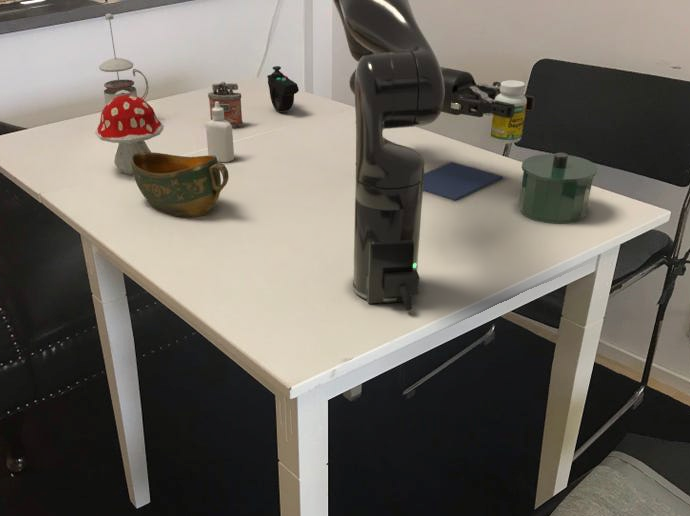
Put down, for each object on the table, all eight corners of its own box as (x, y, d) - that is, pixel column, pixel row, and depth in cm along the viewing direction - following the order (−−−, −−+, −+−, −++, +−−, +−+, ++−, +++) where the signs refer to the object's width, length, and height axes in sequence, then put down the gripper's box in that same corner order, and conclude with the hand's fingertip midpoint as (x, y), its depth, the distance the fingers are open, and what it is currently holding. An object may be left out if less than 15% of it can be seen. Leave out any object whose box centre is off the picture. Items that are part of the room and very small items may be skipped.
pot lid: (608, 183, 126) (612, 165, 124) (534, 187, 126) (537, 169, 124) (580, 158, 136) (583, 141, 134) (511, 162, 136) (514, 144, 134)
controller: (282, 104, 196) (280, 63, 190) (301, 117, 186) (300, 74, 180) (266, 106, 194) (264, 65, 189) (285, 119, 185) (283, 76, 179)
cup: (169, 234, 133) (162, 178, 127) (131, 197, 148) (123, 145, 142) (236, 218, 138) (232, 163, 132) (193, 183, 152) (188, 132, 147)
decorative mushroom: (123, 186, 153) (111, 110, 144) (89, 169, 162) (77, 96, 153) (181, 168, 160) (173, 95, 151) (146, 153, 169) (136, 82, 160)
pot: (595, 221, 130) (604, 179, 126) (530, 225, 130) (536, 182, 126) (571, 196, 139) (579, 156, 135) (510, 199, 139) (516, 159, 135)
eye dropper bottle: (224, 153, 166) (220, 97, 160) (236, 161, 162) (232, 103, 155) (206, 157, 165) (201, 100, 158) (217, 165, 161) (213, 107, 154)
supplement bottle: (504, 132, 138) (512, 77, 133) (527, 139, 135) (536, 83, 129) (483, 138, 136) (490, 82, 130) (506, 146, 132) (514, 89, 127)
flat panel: (502, 178, 148) (502, 176, 148) (455, 200, 140) (455, 198, 140) (451, 163, 156) (451, 161, 155) (404, 184, 148) (404, 182, 147)
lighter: (208, 127, 182) (204, 84, 177) (213, 123, 185) (209, 80, 179) (240, 129, 180) (237, 85, 174) (245, 124, 183) (242, 81, 177)
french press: (102, 121, 190) (84, 12, 176) (148, 115, 192) (134, 7, 178) (107, 132, 182) (89, 19, 168) (155, 126, 185) (141, 14, 171)
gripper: (419, 76, 135) (502, 94, 124) (468, 60, 143) (550, 76, 132) (416, 119, 139) (496, 140, 128) (463, 101, 147) (542, 119, 136)
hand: (523, 107), depth 130 cm, fingers closed on supplement bottle, 5 cm apart
